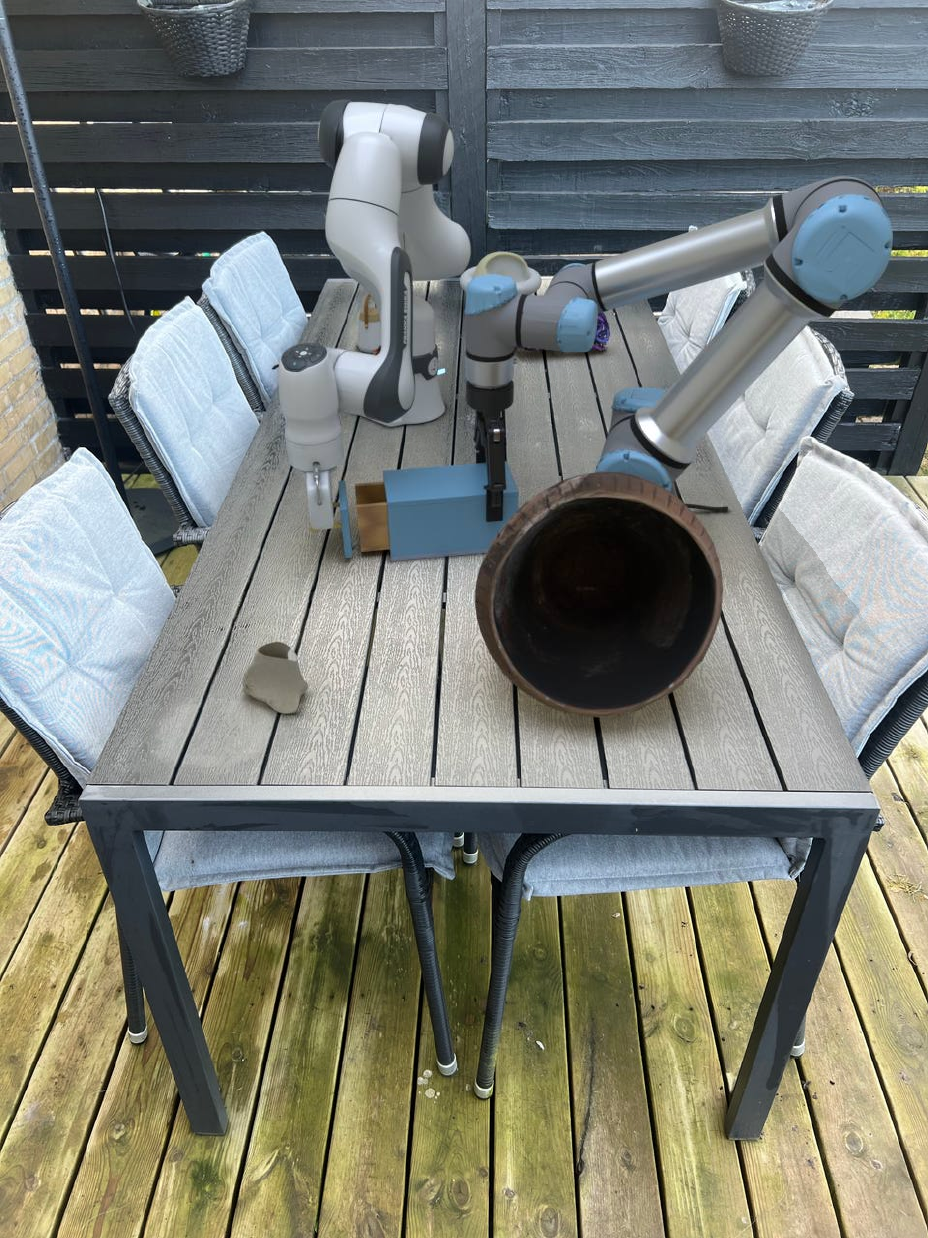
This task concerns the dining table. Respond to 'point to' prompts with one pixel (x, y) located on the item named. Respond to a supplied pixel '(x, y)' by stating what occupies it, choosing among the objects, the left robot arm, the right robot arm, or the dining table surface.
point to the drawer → (365, 517)
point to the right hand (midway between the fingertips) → (488, 502)
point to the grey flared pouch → (275, 678)
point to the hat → (505, 271)
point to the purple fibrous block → (599, 336)
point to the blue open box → (443, 510)
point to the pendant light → (369, 328)
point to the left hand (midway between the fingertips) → (324, 523)
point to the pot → (600, 594)
